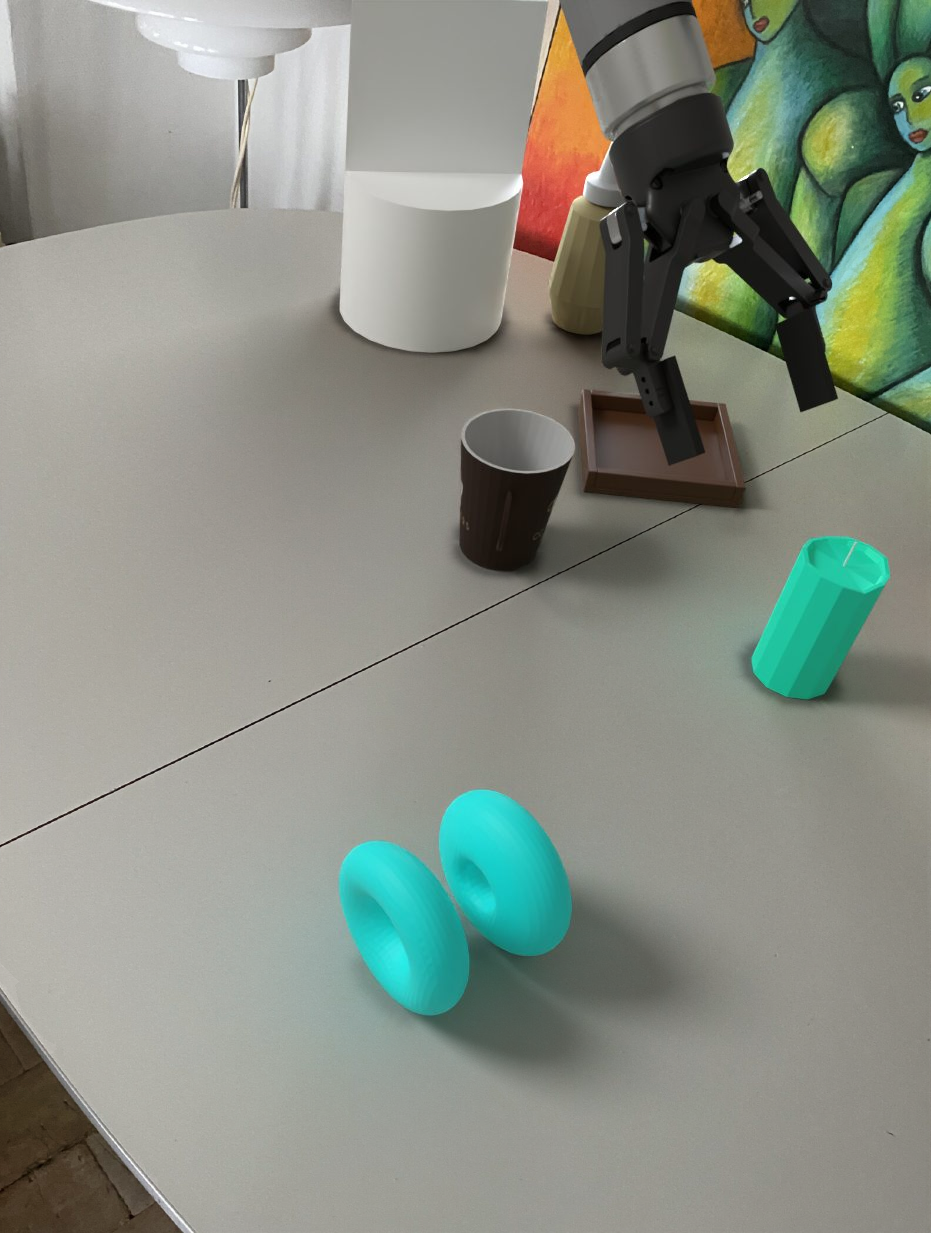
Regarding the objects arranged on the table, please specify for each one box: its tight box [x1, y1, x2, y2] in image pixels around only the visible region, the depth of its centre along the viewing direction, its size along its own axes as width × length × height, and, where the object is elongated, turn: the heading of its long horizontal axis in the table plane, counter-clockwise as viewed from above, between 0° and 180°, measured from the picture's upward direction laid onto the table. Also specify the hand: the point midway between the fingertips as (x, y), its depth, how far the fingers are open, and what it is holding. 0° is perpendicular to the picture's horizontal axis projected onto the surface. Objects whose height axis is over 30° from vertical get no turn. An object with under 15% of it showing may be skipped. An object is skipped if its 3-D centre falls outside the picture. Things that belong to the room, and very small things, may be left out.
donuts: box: [338, 788, 573, 1016], centre depth 59 cm, size 10×10×10 cm
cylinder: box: [339, 0, 549, 354], centre depth 102 cm, size 17×17×28 cm
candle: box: [750, 535, 891, 700], centre depth 75 cm, size 6×6×12 cm
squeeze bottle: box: [547, 141, 626, 335], centre depth 106 cm, size 8×8×18 cm
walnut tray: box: [577, 388, 747, 509], centre depth 97 cm, size 14×14×2 cm
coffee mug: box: [458, 407, 576, 572], centre depth 83 cm, size 12×9×10 cm
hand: (755, 432), depth 74 cm, fingers open, 13 cm apart
